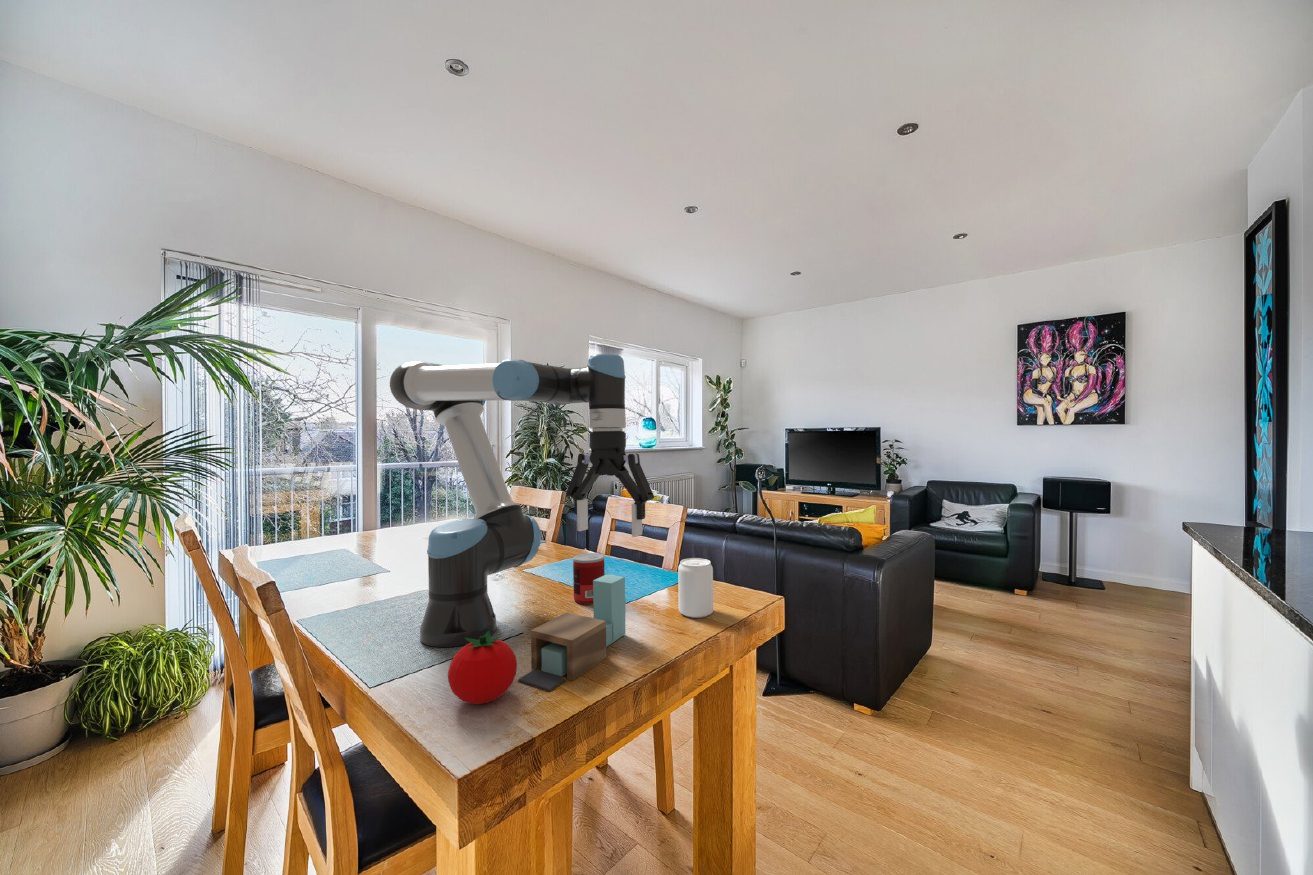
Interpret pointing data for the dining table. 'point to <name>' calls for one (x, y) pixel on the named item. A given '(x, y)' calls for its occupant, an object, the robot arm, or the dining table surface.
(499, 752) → the dining table surface
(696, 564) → the beverage can
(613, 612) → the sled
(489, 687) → the tomato
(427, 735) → the dining table surface
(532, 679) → the pad
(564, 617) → the tunnel
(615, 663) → the dining table surface
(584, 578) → the canned food
